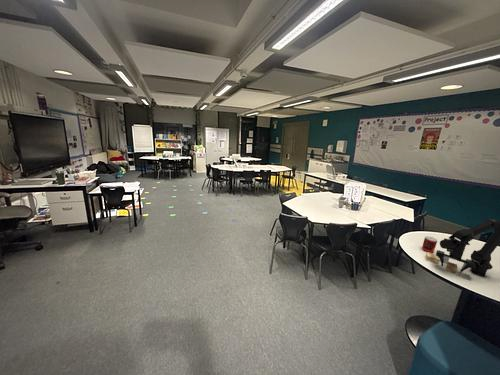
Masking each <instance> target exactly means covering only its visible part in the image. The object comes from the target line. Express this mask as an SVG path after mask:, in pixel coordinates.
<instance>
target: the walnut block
mask: <svg viewBox="0 0 500 375" xmlns="http://www.w3.org/2000/svg"><path fill="white" fill-rule="evenodd" d="M457 269H458V265H457V264H456V263H453V262H450V261H448V263H446V266H445V271H446V272H449V273H452V274H456V271H458V270H457Z"/></svg>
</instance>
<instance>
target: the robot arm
mask: <svg viewBox="0 0 500 375" xmlns="http://www.w3.org/2000/svg"><path fill="white" fill-rule="evenodd" d="M491 229H493V233H492V234H491V235H490V236H489V238H488V239H487V241H486V242H485V243H484V244H483V246H482V247H481V248H480V249H478V250H476V249H475V250H473V251H472V253H471V254H470V259H468V258H466V259H463V258H462V257H463V255H464V253H465V249H466V246H470V245H471V244H470V242H471V241H473V240H474V239H475V237H476V236H478V235H480V234H482V233H485V232H487V231H489V230H491ZM499 245H500V220H497V219H489V218H488V219H486V220H485V221H483V222H481V223H479V224H476V225H474V226H471V227H469V228H467V229H466V228H465V229H460V230H456V231H455V232H453V234H451V235H450V236H449V237H448V238H443V239H442V240H440V241H439V246H440V248H442V249H445V250H446V252H447V253H448V254H447V253H445V251H441V250H439V249H438V250H436V252H435V255H436V256H437V257H438V258H440V260H441V262H440V265H441V267H444V257H447V258H449V260H454V261H457V262H460V263H463V265H462V267H461V268H460V271H459V272H460V273H461V272H462V273H464V271H465V270H467V269H470V270H469V271H470V272H471V273H472V274H474V275H478V276H481V277H484V278H486V277H487V276H486V274H487V272H488V271H489V270H491V269H493V268H494V267H493V265H492V264H491V260H492V256H491V255H492V253H494V251H495V249H496V248H497V247H498V246H499Z"/></svg>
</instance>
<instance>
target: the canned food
mask: <svg viewBox="0 0 500 375" xmlns="http://www.w3.org/2000/svg"><path fill="white" fill-rule="evenodd" d="M424 236H425V235H424ZM422 242H423V243H422V246H421V249H422V251H423V252H426V253H427V252H429V253H432V254H434V252H435V249H436V247H437V243H438V239H437V238H435V237H433V236H428V235H426V236H425V237H424V239H423V241H422Z"/></svg>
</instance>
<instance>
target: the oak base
mask: <svg viewBox="0 0 500 375" xmlns="http://www.w3.org/2000/svg"><path fill="white" fill-rule="evenodd" d="M425 261H427V262H430V263H434V264H436V265H439V264H440V258H438V257H437V256H436V253H429V252H426V255H425Z"/></svg>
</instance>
